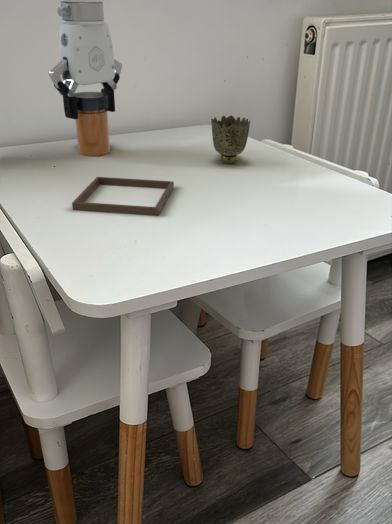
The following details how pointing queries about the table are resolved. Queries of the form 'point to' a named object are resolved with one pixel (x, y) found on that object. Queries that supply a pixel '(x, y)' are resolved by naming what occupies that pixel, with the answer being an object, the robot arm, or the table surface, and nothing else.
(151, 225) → the table surface
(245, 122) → the cup
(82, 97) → the lid
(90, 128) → the jar
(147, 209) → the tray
